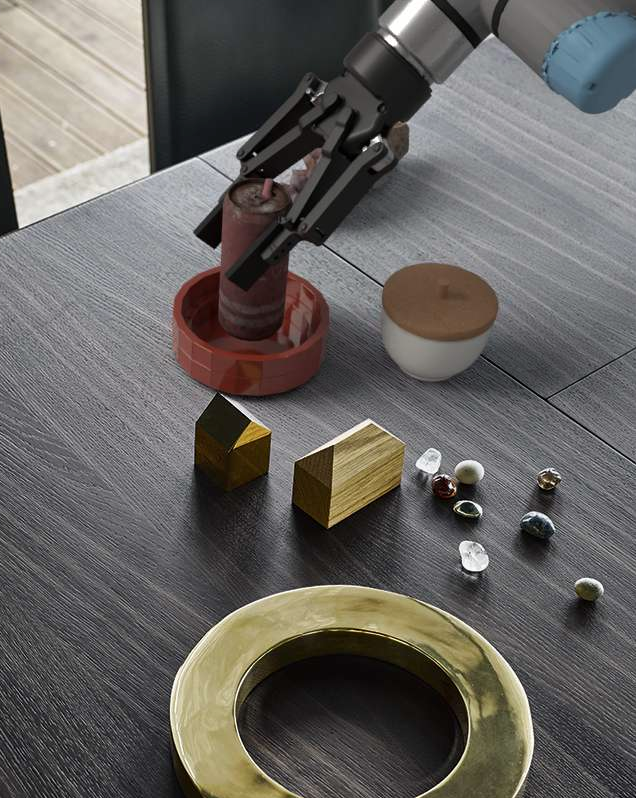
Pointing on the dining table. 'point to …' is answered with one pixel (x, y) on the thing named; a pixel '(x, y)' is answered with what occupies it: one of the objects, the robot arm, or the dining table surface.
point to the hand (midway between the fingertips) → (219, 261)
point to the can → (242, 224)
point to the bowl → (249, 360)
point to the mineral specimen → (396, 143)
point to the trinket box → (436, 319)
